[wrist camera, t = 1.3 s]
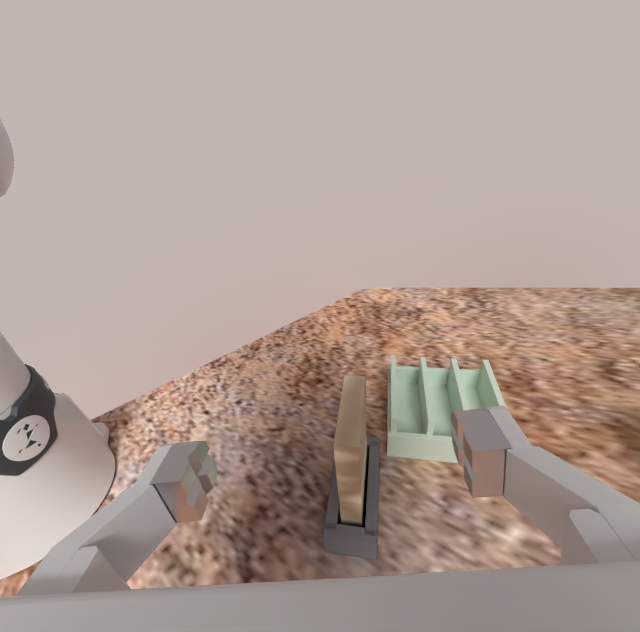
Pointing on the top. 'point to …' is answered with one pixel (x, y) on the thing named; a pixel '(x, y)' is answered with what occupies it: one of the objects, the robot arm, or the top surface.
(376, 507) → the board stand
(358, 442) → the maple board
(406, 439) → the dish rack
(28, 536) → the robot arm
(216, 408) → the top surface
